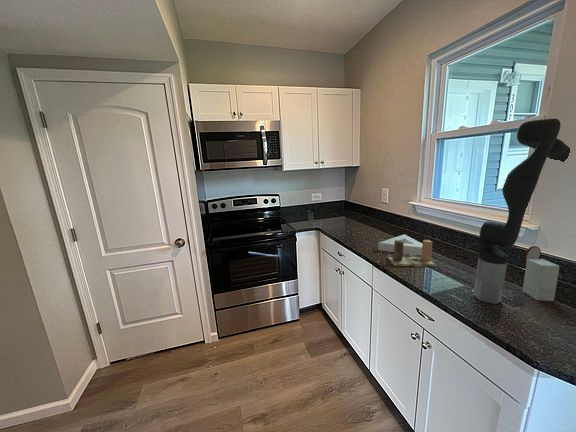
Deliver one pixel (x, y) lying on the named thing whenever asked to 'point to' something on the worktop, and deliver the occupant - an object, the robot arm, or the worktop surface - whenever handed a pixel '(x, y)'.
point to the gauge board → (411, 261)
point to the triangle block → (408, 246)
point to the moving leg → (426, 250)
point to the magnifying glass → (532, 253)
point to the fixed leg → (398, 250)
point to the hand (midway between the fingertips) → (539, 222)
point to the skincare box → (540, 279)
